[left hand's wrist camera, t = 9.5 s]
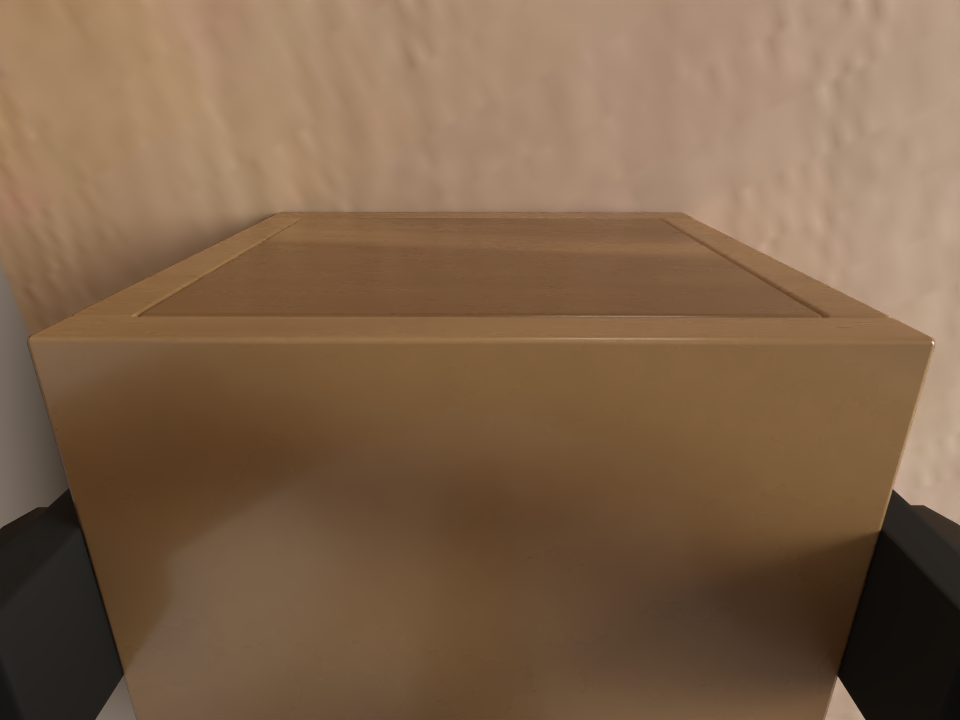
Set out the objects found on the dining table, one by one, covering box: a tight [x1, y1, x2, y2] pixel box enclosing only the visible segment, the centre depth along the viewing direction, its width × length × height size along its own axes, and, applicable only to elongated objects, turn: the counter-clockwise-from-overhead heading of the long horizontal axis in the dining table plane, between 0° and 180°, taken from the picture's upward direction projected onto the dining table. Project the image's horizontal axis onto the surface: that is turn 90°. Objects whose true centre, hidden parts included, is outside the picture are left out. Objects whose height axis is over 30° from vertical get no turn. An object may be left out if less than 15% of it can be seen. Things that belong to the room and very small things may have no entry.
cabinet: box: [27, 212, 935, 720], centre depth 15 cm, size 19×11×10 cm, turn 0°
